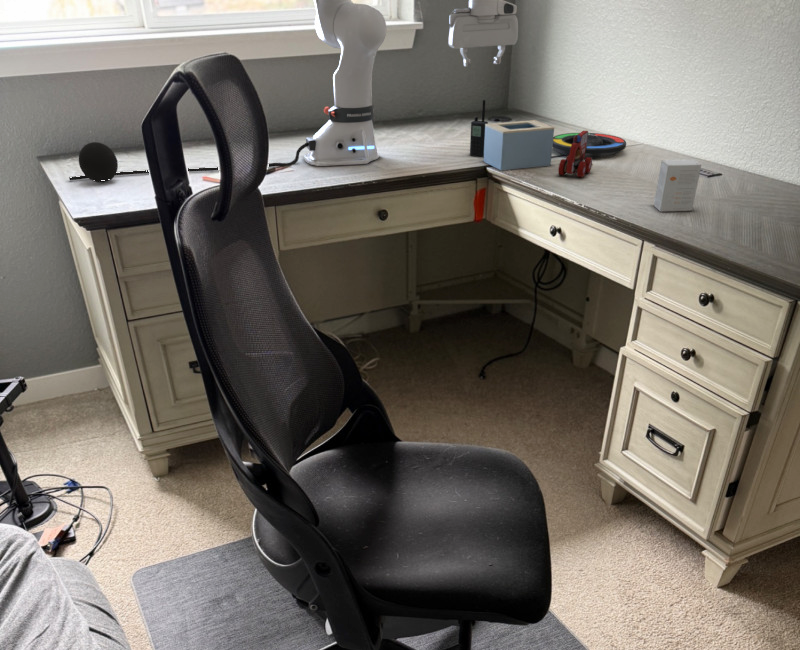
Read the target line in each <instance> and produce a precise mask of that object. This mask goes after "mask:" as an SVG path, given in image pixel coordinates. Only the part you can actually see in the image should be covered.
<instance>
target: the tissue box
mask: <svg viewBox="0 0 800 650" xmlns="http://www.w3.org/2000/svg"><path fill="white" fill-rule="evenodd" d="M554 134H555V127H554V126H552V125H549V124H546V123H544V122H541V121H539V120H536V119H532V120H519V121H506V122H495V123H493V122H492V123H488V124H485V141H484V156H483V163H485V164H487V165H489V166H491V167H493V168H495V169H497V170H499V171H509V170H510V171H511V170H519V169H528V168H529V169H530V168H540V167H549V166H551V165H552V154H553V147H552V146H553V137H554V136H555V135H554Z"/></svg>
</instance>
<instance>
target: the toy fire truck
mask: <svg viewBox="0 0 800 650" xmlns="http://www.w3.org/2000/svg"><path fill="white" fill-rule="evenodd" d="M578 133H579V134H578V135H576V136H575V137H574V139H573V141H575V142H574V143H572V145H571V149H570V153H569V155H568V156H567V155H566V158H562V159H560V161H559V164H558V169H557V172H558V175H559V176H561V177H562V176H566V174H569V175H574V174H576V176H577V178H582V179H583V178H584V177H585V175H586V174H587V175H588V174H589V173H591V170H592V166H593V158H589V157H587V158H584V157H585V150H586V144H587V139H588V133H589V130H582V131H580V132H578Z"/></svg>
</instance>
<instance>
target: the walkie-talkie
mask: <svg viewBox="0 0 800 650" xmlns="http://www.w3.org/2000/svg"><path fill="white" fill-rule="evenodd" d="M485 115H486V100H485V99H482V107H481V120H479V117H478V116H474V120H472V121H471V122H470V142H469V156H471V157H477V158H484V141H485V124H489V122H488V121H486V120H485V117H486V116H485Z"/></svg>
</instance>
